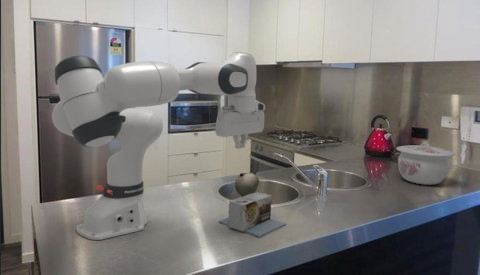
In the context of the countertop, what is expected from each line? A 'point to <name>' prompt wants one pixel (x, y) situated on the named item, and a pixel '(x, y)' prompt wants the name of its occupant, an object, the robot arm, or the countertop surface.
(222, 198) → the countertop surface
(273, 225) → the mat
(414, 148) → the chamber pot
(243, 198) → the coffee box
